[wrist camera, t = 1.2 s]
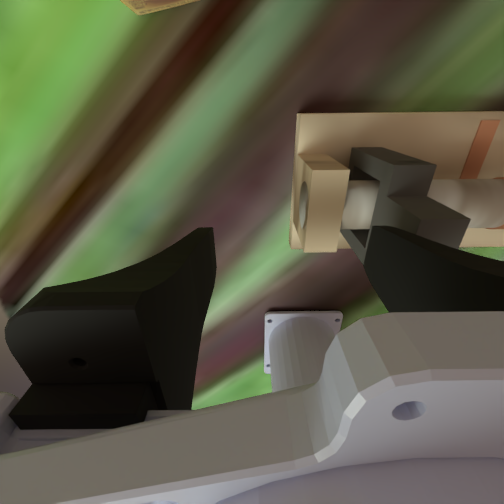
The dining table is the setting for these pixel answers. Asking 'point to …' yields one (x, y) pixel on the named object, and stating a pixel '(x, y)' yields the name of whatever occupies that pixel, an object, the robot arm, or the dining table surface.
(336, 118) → the pipe stand
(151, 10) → the candy box
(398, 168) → the dark grey z bracket
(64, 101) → the dining table surface
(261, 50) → the dining table surface
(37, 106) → the dining table surface
